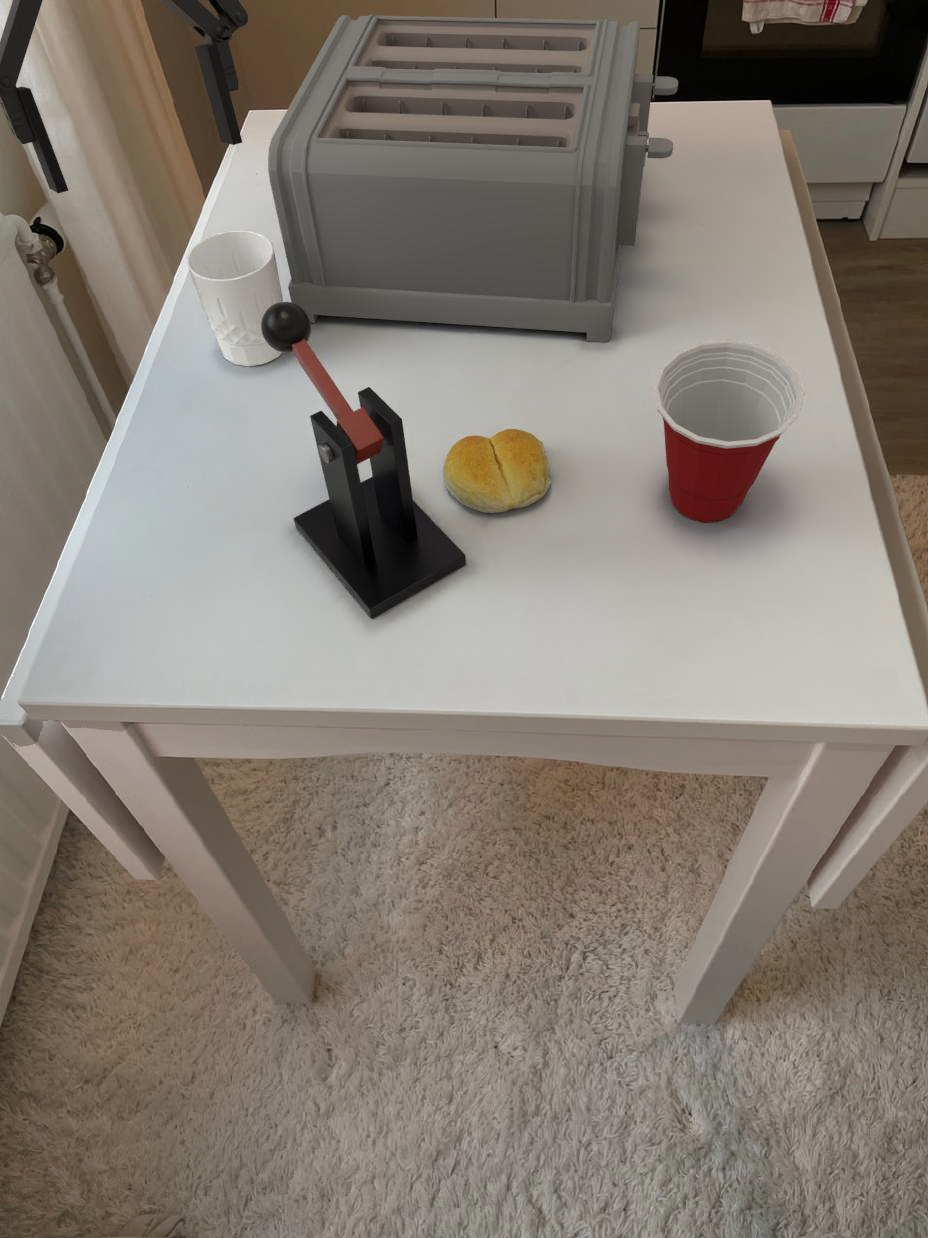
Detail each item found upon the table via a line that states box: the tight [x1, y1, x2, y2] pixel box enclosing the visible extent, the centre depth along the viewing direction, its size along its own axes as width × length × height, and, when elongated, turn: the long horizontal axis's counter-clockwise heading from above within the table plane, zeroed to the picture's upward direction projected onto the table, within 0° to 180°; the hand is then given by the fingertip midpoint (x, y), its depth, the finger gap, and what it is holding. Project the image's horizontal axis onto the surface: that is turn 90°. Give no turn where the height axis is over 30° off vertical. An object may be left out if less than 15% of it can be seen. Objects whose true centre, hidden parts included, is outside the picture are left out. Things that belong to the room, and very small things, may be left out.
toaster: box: [267, 13, 679, 343], centre depth 96 cm, size 31×36×17 cm
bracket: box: [293, 386, 467, 620], centre depth 72 cm, size 12×9×14 cm
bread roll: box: [442, 428, 552, 514], centre depth 80 cm, size 8×9×4 cm
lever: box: [261, 301, 384, 465], centre depth 69 cm, size 13×4×4 cm, turn 35°
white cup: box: [186, 229, 284, 367], centre depth 90 cm, size 8×8×10 cm
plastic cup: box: [652, 339, 806, 523], centre depth 74 cm, size 11×11×12 cm
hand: (148, 165), depth 71 cm, fingers open, 13 cm apart
